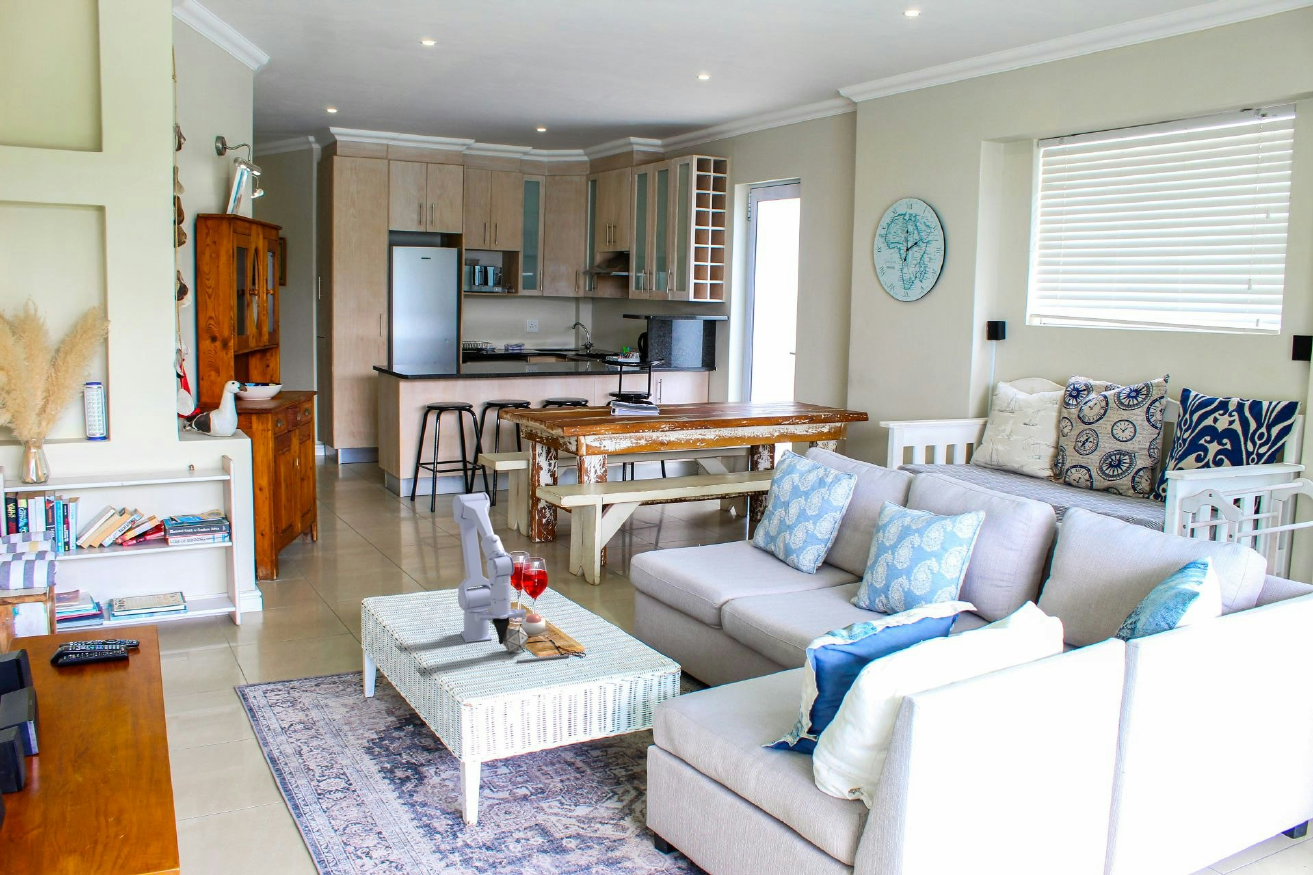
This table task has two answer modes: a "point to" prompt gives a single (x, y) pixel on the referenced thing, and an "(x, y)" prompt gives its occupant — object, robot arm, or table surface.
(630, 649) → the table surface
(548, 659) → the frame
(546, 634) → the dome base
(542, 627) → the dome
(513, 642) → the game die
